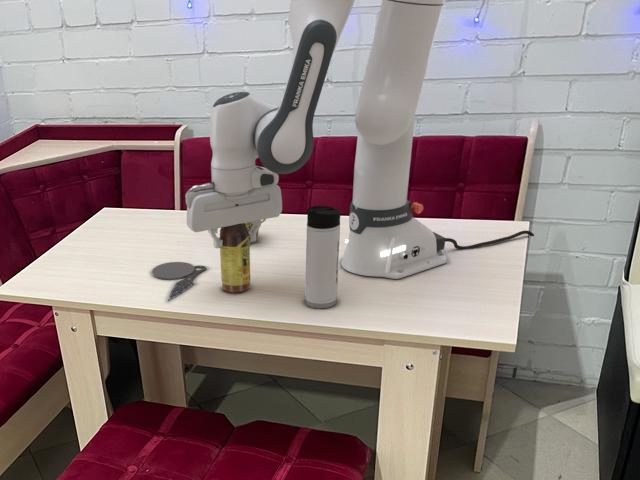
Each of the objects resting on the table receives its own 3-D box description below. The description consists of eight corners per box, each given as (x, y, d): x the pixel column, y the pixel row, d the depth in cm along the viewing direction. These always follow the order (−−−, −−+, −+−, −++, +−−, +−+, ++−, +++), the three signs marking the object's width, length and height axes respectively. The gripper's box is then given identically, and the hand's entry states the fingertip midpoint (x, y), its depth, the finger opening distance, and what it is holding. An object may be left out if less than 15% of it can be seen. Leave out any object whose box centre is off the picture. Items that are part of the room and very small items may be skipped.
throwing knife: (210, 268, 174) (210, 266, 174) (177, 303, 159) (177, 301, 159) (192, 267, 176) (192, 264, 176) (158, 301, 161) (158, 299, 161)
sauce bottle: (249, 294, 159) (247, 203, 149) (220, 294, 161) (216, 204, 151) (251, 281, 165) (249, 193, 155) (223, 282, 166) (219, 194, 156)
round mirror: (186, 260, 180) (186, 259, 179) (201, 274, 171) (200, 273, 171) (146, 268, 178) (146, 266, 177) (159, 283, 169) (159, 281, 169)
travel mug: (297, 300, 154) (299, 206, 144) (325, 293, 156) (328, 199, 146) (314, 311, 149) (317, 214, 139) (342, 304, 151) (347, 207, 141)
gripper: (190, 191, 146) (194, 257, 153) (286, 173, 150) (285, 239, 157) (179, 183, 151) (183, 248, 158) (272, 167, 155) (272, 230, 162)
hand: (235, 243), depth 158 cm, fingers closed on sauce bottle, 6 cm apart
